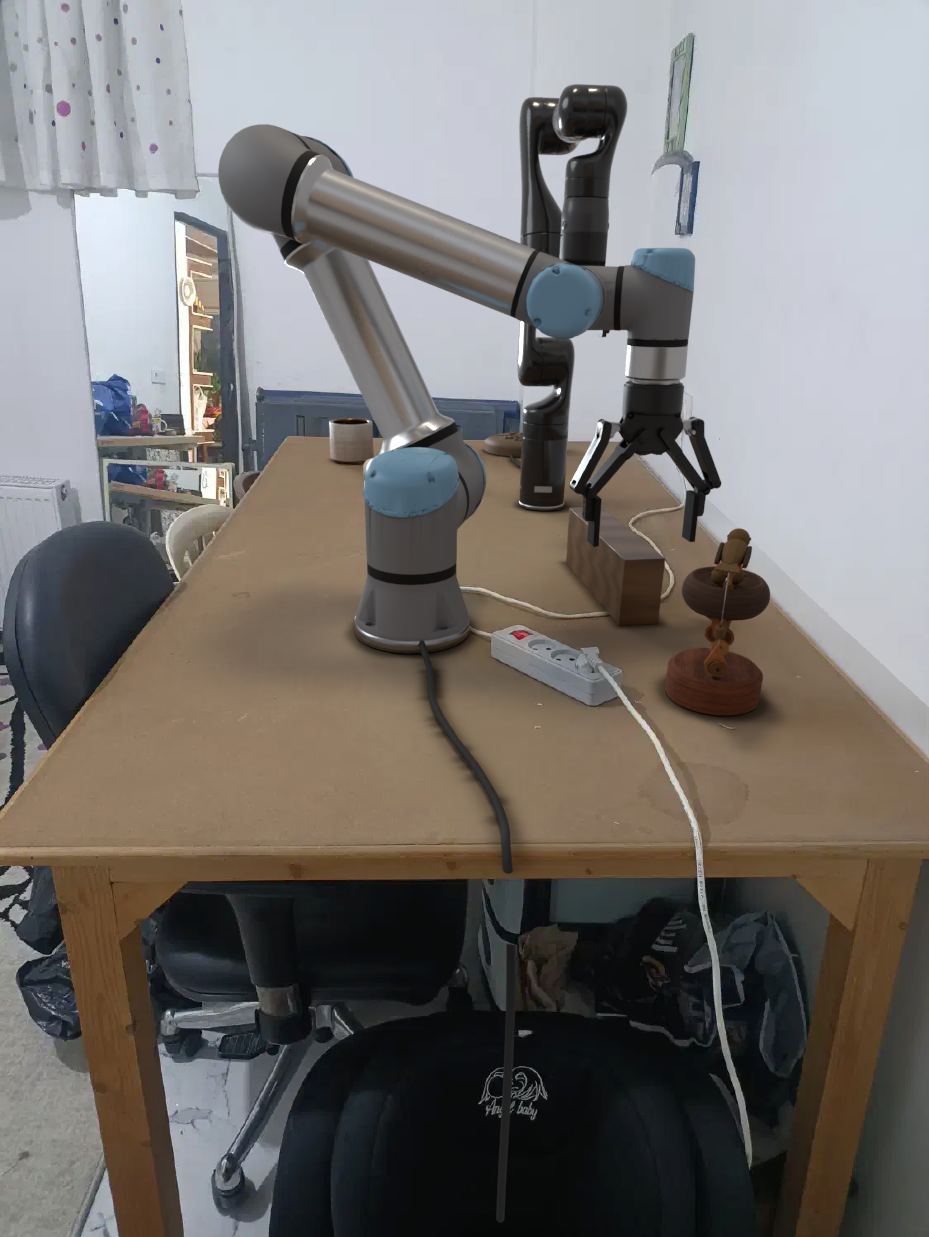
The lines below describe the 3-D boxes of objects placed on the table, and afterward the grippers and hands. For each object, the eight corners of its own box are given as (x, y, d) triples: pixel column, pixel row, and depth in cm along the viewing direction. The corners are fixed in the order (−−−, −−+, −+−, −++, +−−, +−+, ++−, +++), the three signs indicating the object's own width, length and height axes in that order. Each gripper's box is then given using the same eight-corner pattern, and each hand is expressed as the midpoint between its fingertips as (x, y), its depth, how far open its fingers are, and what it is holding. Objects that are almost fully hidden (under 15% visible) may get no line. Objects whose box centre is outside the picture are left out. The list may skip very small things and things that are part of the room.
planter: (327, 456, 217) (325, 418, 214) (369, 454, 220) (368, 417, 217) (334, 465, 208) (332, 425, 204) (377, 463, 211) (376, 424, 207)
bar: (658, 623, 117) (665, 558, 113) (618, 625, 116) (624, 559, 113) (598, 562, 142) (603, 506, 138) (565, 563, 141) (569, 507, 137)
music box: (777, 726, 90) (790, 547, 83) (671, 726, 92) (676, 550, 84) (748, 664, 104) (758, 507, 97) (657, 666, 106) (660, 510, 98)
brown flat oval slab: (489, 466, 209) (490, 449, 208) (482, 444, 235) (482, 429, 234) (574, 466, 210) (575, 449, 209) (557, 445, 236) (558, 430, 234)
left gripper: (733, 375, 112) (715, 529, 120) (551, 379, 109) (545, 537, 117) (760, 382, 105) (739, 545, 113) (567, 386, 102) (559, 554, 110)
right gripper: (619, 232, 140) (611, 335, 146) (535, 230, 137) (530, 335, 144) (634, 230, 133) (625, 339, 139) (546, 228, 131) (541, 338, 137)
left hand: (640, 541), depth 115 cm, fingers open, 13 cm apart
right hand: (577, 337), depth 141 cm, fingers open, 8 cm apart
